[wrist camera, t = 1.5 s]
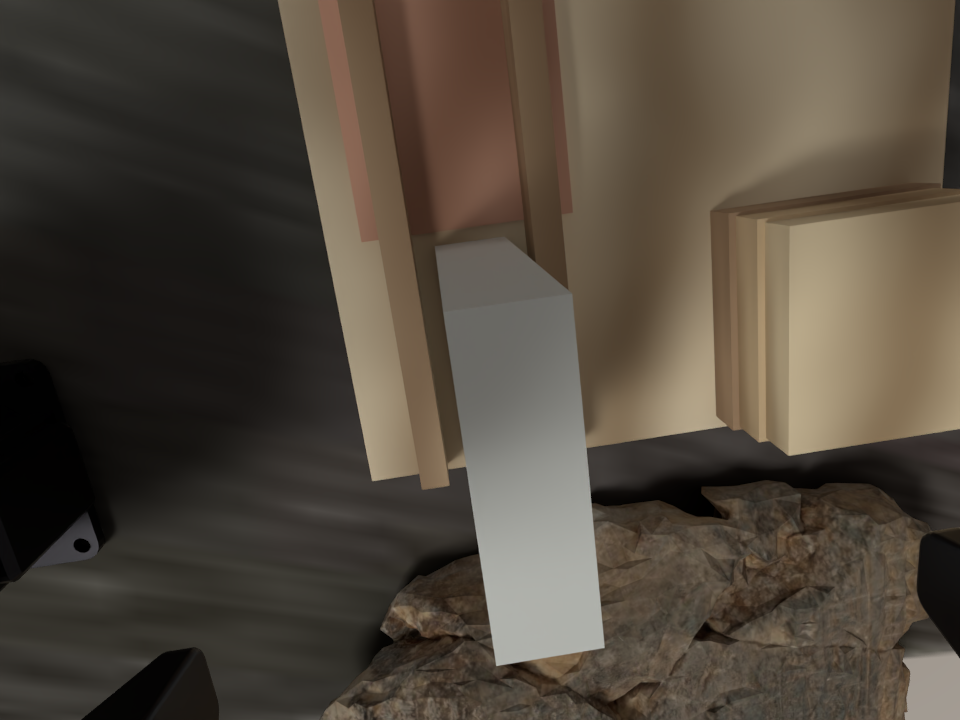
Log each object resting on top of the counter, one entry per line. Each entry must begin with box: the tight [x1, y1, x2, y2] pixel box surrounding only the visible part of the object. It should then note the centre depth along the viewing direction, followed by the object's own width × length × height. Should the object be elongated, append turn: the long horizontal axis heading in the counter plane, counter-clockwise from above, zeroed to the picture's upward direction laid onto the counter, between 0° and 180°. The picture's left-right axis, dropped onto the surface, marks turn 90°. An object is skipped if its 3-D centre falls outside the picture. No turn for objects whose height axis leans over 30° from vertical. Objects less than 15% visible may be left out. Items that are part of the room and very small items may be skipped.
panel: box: [435, 236, 605, 666], centre depth 15 cm, size 2×7×9 cm, turn 7°
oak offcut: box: [736, 188, 960, 442], centre depth 18 cm, size 6×6×1 cm
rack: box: [278, 0, 955, 490], centre depth 19 cm, size 18×14×2 cm
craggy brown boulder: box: [319, 480, 931, 720], centre depth 22 cm, size 14×5×20 cm
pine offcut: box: [765, 194, 960, 456], centre depth 17 cm, size 5×6×1 cm
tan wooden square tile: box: [710, 183, 941, 430], centre depth 19 cm, size 6×6×1 cm
